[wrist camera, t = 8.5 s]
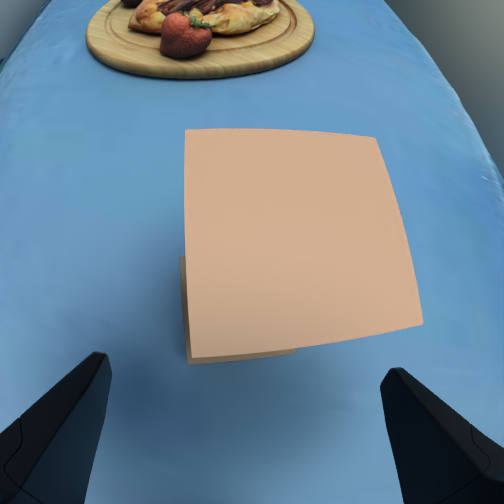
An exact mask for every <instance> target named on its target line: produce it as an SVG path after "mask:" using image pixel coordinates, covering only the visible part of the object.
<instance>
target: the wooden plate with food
mask: <svg viewBox="0 0 504 504" xmlns="http://www.w3.org/2000/svg"><path fill="white" fill-rule="evenodd" d="M314 35H315V26H314V22H313V20H312V18H311V16H310V15H309V13H308V12H307V11H306V10H305V9H304V8H303V7H302V6H301V5H300V4H299V3H298V2H296V1H295V0H111V1H109V2H108V3H107V4H105V5H104V6H103V7H102V8H101V9H99V10H98V11H97V12H96V14H95V15H94V16H93V17H92V19H91V20H90V22H89V24H88V26H87V29H86V36H85V37H86V43H87V47H88V49H89V50H90V52H91V53H92V54H93V55H94V56H95V57H96V58H97V59H98V60H100V61H101V62H103V63H105V64H106V65H109V66H111V67H114V68H116V69H119V70H122V71H125V72H129V73H133V74H138V75H145V76H151V77H162V78H180V79H200V78H220V77H229V76H238V75H245V74H251V73H256V72H261V71H265V70H269V69H273V68H276V67H279V66H281V65H283V64H286V63H288V62H290V61H292V60H294V59H296V58H298V57H299V56H301V55H302V54H303V53H305V52H306V51H307V50H308V48H309V47H310V45H311V44H312V42H313V40H314Z"/></svg>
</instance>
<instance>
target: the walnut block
mask: <svg viewBox="0 0 504 504" xmlns="http://www.w3.org/2000/svg"><path fill="white" fill-rule="evenodd" d="M180 275H181V292H182V306H183V319H184V331H185V342H186V353H187V362H188V365H192V364H206V363H218V362H229V361H239V360H248V359H257V358H265V357H273V356H280V355H287V354H294V353H296V348H293V349H286V350H277V351H269V352H260V353H250V354H239V355H227V356H214V357H198V358H192V353H191V341H190V328H189V314H188V298H187V278H186V257H180Z"/></svg>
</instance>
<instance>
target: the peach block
mask: <svg viewBox="0 0 504 504" xmlns="http://www.w3.org/2000/svg"><path fill="white" fill-rule="evenodd" d="M184 210H185V254H186V278H187V298H188V314H189V328H190V341H191V353H192V358H198V357H214V356H227V355H239V354H250V353H260V352H269V351H277V350H286V349H293V348H301V347H308V346H315V345H321V344H328V343H334V342H340V341H345V340H351V339H357V338H362V337H367V336H372V335H377V334H382V333H387V332H392V331H396V330H401V329H405V328H410V327H414V326H418V325H422V324H423V317H422V311H421V304H420V298H419V293H418V287H417V282H416V277H415V272H414V267H413V263H412V258H411V254H410V249H409V245H408V241H407V237H406V233H405V229H404V225H403V221H402V218H401V214H400V211H399V207H398V204H397V200H396V197H395V194H394V190H393V187H392V184H391V181H390V178H389V175H388V172H387V169H386V166H385V163H384V160H383V157H382V155H381V152H380V149H379V146H378V144H377V141H376V138H373V137H365V136H357V135H348V134H338V133H328V132H315V131H301V130H281V129H191V130H185V167H184Z"/></svg>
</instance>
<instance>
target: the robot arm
mask: <svg viewBox="0 0 504 504" xmlns="http://www.w3.org/2000/svg"><path fill="white" fill-rule="evenodd" d="M111 378H112V371H111V367H110V363H109V358H108V355H107V354H106V353H102V352H96V351H95V352H93V353H91V354H90V355H89V356H88V357H87V358H86V359H84V360H83V361H82V362H81V363H80V364H79V365H77V366H76V367H75V368H74V369H73V370H72V371H71V372H69V373H68V374H67V375H66V376H65V377H64V378H63V379H61V380H60V381H59V382H58V383H57V384H56V385H55V386H53V387H52V388H51V389H50V390H49V391H48V392H47V393H45V394H44V395H43V396H42V397H41V398H40V399H39V400H38V401H36V402H35V403H34V404H33V405H32V406H31V407H30V408H29V409H27V410H26V411H25V412H24V413H23V414H22V415H21V416H20V418H17V419H16V420H15V421H14V422H13V423H12V424H11V425H10V426H8V427H7V428H6V429H5V430H4V431H3V432H1V433H0V504H84V502H85V497H86V492H87V488H88V483H89V479H90V474H91V470H92V466H93V462H94V457H95V453H96V450H97V446H98V442H99V438H100V434H101V431H102V427H103V423H104V419H105V413H106V407H107V401H108V395H109V389H110V384H111ZM380 392H381V398H382V404H383V410H384V416H385V423H386V428H387V432H388V436H389V440H390V444H391V448H392V452H393V456H394V460H395V465H396V469H397V473H398V478H399V483H400V487H401V492H402V497H403V502H404V504H504V448H503V447H501V446H500V445H498V444H497V443H495V442H494V441H492V440H491V439H490V438H488V437H487V436H485V435H484V434H483V433H482V432H480V431H479V430H478V429H477V428H475V427H474V426H473V425H472V424H470V423H469V422H468V421H467V420H466V419H464V418H463V417H462V416H461V415H460V414H458V413H457V412H456V411H455V410H453V409H452V408H451V407H450V406H449V405H447V404H446V403H445V402H444V401H442V400H441V399H440V398H439V397H438V396H436V395H435V394H434V393H433V392H431V391H430V390H429V389H428V388H427V387H425V386H424V385H423V384H422V383H420V382H419V381H418V380H417V379H416V378H414V377H413V376H412V375H411V374H409V373H408V372H407V371H406V370H404V369H403V368H401V367H397V368H391V369H390V370H389V371H388V373H387V374H386V376H385V378H384V379H383V381H382V382H381V385H380Z"/></svg>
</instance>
